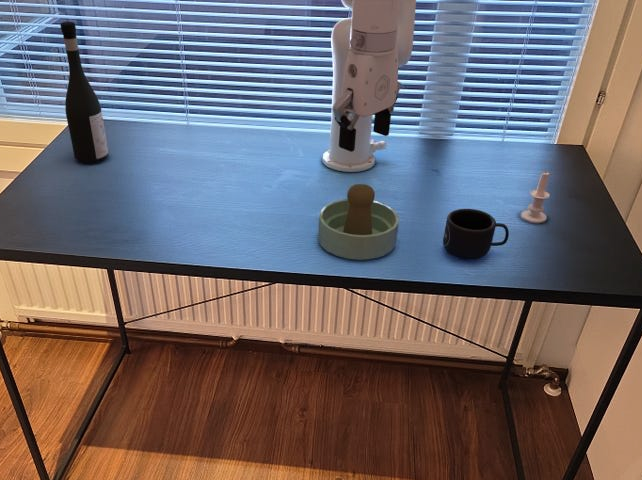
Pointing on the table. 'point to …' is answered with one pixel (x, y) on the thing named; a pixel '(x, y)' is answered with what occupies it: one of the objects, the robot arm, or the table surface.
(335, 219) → the bowl
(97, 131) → the wine bottle
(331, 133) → the robot arm
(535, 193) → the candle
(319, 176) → the table surface
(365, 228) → the brown rounded tall piece
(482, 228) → the mug
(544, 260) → the table surface
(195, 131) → the table surface
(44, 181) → the table surface
